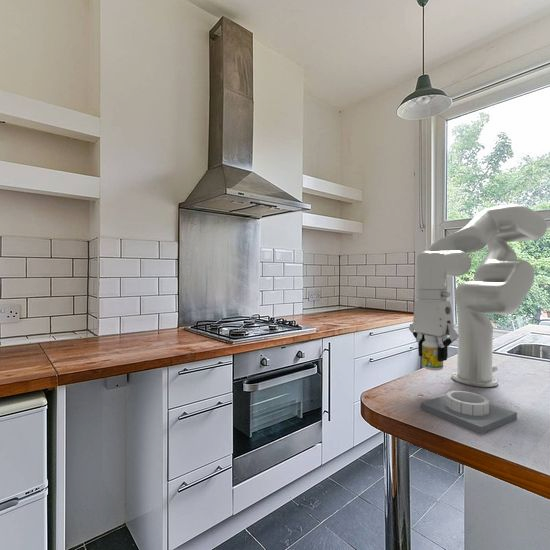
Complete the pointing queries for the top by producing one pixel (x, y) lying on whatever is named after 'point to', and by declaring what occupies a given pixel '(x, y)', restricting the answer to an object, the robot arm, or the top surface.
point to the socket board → (469, 419)
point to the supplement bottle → (431, 353)
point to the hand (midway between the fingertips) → (432, 357)
